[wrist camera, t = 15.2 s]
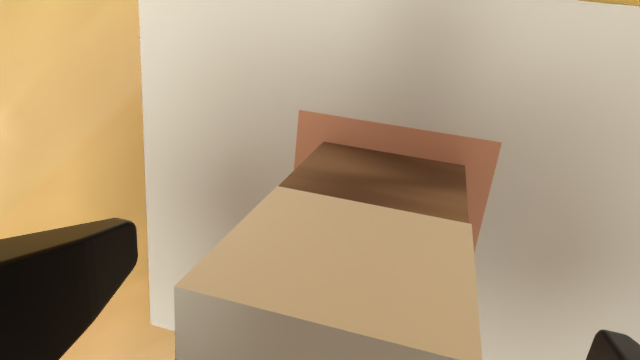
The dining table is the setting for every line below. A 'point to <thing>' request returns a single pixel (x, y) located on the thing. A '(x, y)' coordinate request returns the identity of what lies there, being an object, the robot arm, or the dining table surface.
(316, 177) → the walnut cube
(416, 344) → the offwhite cube
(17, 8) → the dining table surface
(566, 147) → the blueprint board
